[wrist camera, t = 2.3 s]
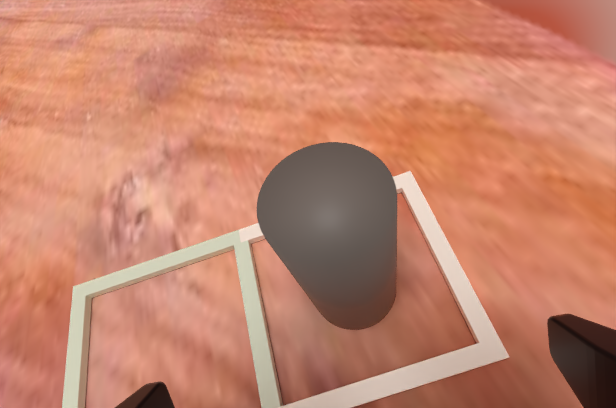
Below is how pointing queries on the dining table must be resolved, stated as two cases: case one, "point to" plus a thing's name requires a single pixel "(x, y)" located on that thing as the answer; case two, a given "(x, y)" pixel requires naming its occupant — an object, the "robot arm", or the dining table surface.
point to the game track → (330, 404)
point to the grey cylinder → (335, 229)
